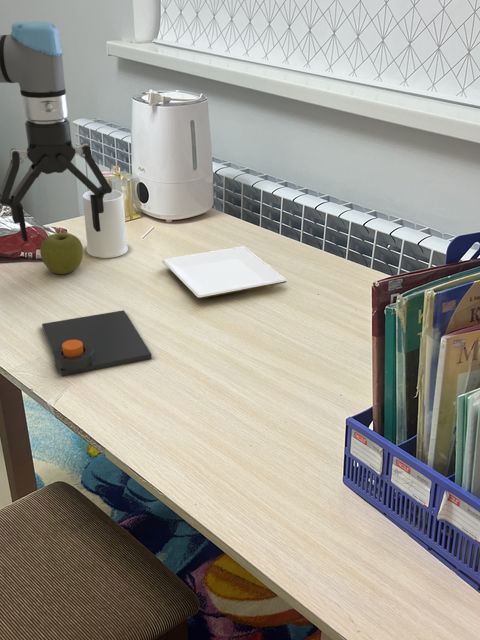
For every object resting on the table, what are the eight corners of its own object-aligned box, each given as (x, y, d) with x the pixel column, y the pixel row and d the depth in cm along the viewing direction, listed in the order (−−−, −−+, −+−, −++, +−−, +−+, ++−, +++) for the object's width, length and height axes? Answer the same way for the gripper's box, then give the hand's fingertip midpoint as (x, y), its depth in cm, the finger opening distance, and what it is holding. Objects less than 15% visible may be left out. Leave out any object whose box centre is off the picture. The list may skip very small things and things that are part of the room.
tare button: (61, 350, 106) (60, 341, 105) (81, 346, 107) (80, 338, 106) (65, 359, 104) (64, 350, 103) (85, 356, 105) (84, 347, 104)
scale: (39, 328, 116) (37, 315, 114) (124, 314, 121) (123, 301, 120) (59, 378, 103) (57, 364, 102) (152, 360, 109) (151, 346, 107)
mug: (90, 237, 152) (85, 183, 146) (129, 237, 153) (126, 183, 147) (84, 258, 142) (79, 201, 136) (127, 258, 143) (123, 201, 137)
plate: (161, 268, 139) (160, 258, 138) (244, 254, 147) (244, 245, 146) (198, 306, 125) (198, 296, 124) (287, 289, 133) (288, 279, 132)
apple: (88, 275, 135) (85, 241, 131) (46, 281, 132) (41, 246, 128) (80, 261, 140) (77, 227, 137) (40, 266, 137) (35, 232, 134)
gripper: (-27, 129, 114) (-5, 249, 124) (122, 119, 123) (130, 231, 134) (-31, 119, 119) (-10, 235, 130) (111, 110, 129) (120, 219, 140)
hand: (61, 234), depth 132 cm, fingers open, 13 cm apart
